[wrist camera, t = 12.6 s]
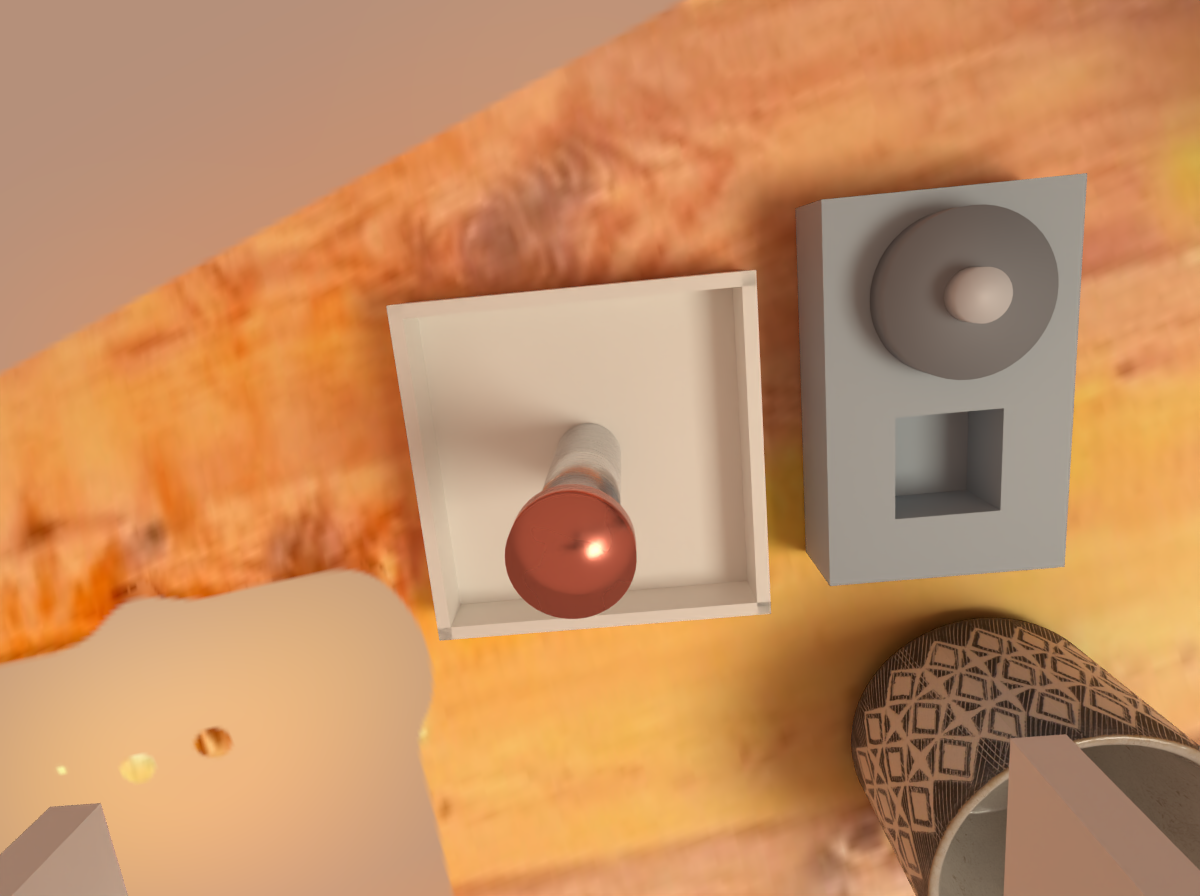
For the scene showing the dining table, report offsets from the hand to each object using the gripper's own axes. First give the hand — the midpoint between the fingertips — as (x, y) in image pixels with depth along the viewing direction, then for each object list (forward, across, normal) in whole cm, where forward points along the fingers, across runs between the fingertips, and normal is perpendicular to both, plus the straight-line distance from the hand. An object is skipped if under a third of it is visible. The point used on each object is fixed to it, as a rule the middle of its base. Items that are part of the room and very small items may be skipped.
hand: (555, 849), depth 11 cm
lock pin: (+24, 0, 0) cm, 24 cm away
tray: (+25, 0, 0) cm, 25 cm away
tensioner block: (+25, +15, +2) cm, 29 cm away
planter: (+25, +18, -16) cm, 35 cm away
